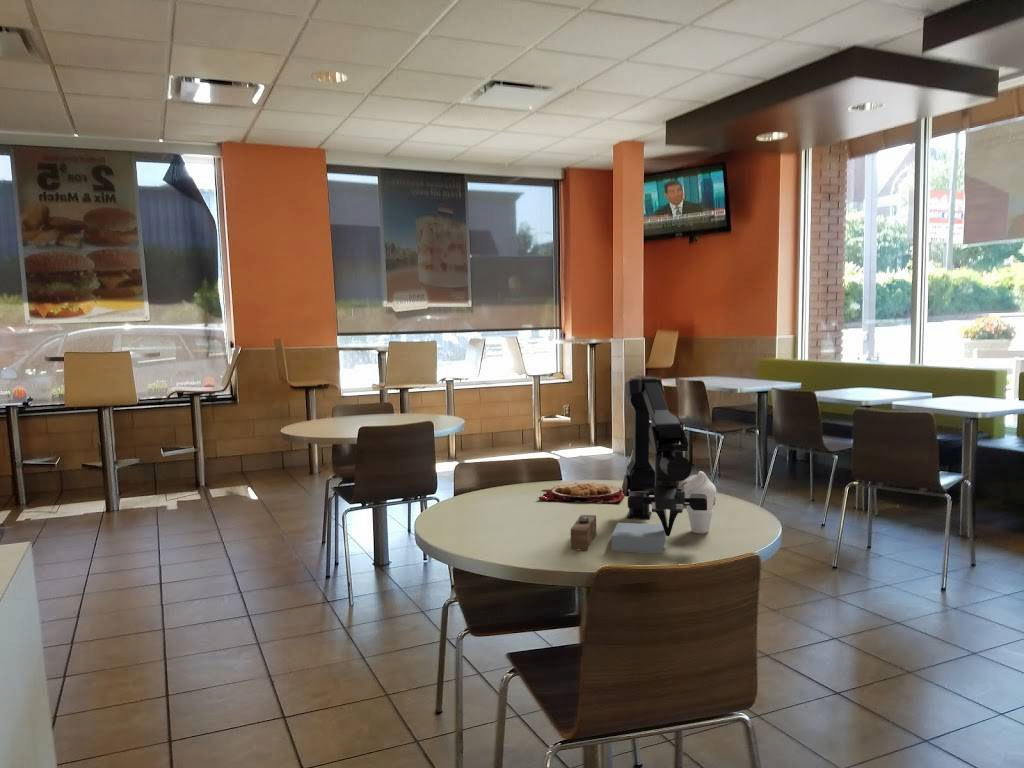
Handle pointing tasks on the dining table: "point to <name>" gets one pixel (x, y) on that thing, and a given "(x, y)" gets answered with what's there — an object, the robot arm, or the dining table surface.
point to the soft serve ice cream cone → (704, 486)
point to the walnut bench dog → (583, 532)
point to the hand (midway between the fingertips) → (667, 535)
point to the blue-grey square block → (638, 538)
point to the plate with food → (584, 492)
